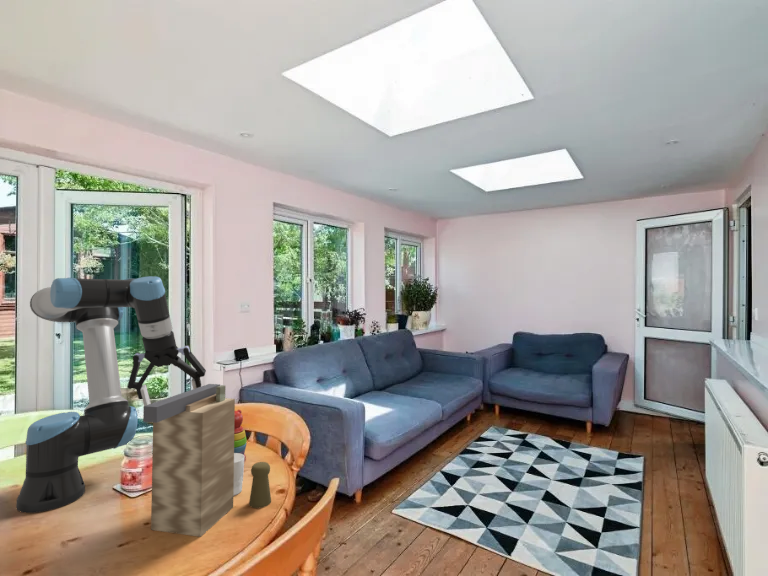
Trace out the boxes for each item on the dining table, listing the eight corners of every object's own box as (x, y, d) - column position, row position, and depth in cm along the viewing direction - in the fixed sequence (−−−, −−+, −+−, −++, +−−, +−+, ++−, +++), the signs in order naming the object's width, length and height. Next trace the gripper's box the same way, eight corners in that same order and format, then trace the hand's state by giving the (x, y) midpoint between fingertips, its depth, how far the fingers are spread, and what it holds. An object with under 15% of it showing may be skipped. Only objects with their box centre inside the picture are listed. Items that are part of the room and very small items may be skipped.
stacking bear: (236, 453, 150) (237, 405, 151) (253, 459, 144) (254, 409, 145) (209, 462, 141) (210, 411, 142) (226, 470, 135) (227, 417, 136)
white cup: (234, 499, 116) (235, 464, 116) (210, 496, 118) (210, 462, 118) (249, 486, 124) (249, 454, 124) (225, 484, 126) (226, 451, 126)
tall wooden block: (151, 529, 101) (153, 393, 102) (188, 501, 115) (190, 381, 115) (200, 536, 98) (203, 396, 99) (233, 507, 112) (235, 384, 113)
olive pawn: (259, 510, 110) (259, 469, 111) (244, 504, 114) (245, 464, 114) (275, 500, 116) (276, 462, 116) (261, 495, 119) (261, 457, 119)
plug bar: (143, 421, 92) (143, 406, 92) (209, 396, 115) (209, 383, 115) (156, 422, 91) (156, 407, 91) (220, 396, 114) (220, 384, 115)
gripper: (101, 346, 102) (121, 419, 109) (204, 331, 109) (217, 401, 115) (111, 335, 109) (129, 404, 116) (207, 322, 116) (219, 388, 122)
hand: (173, 403), depth 115 cm, fingers open, 12 cm apart
